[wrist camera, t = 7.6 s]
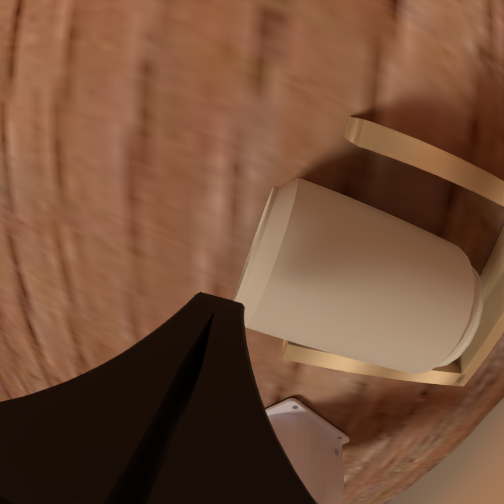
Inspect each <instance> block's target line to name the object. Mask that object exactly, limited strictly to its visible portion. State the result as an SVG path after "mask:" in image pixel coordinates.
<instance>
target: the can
mask: <svg viewBox="0 0 504 504" xmlns="http://www.w3.org/2000/svg"><path fill="white" fill-rule="evenodd" d="M233 301H236V302H240V303H242V304H243V305H244V307H245V310H244V325H245V327H247V328H250V329H253V330H256V331H259V332H262V333H265V334H268V335H271V336H275V337H278V338H281V339H284V340H288V341H291V342H294V343H297V344H301V345H304V346H308V347H311V348H314V349H318V350H321V351H325V352H328V353H332V354H336V355H339V356H343V357H347V358H350V359H354V360H358V361H362V362H366V363H370V364H373V365H377V366H381V367H386V368H390V369H394V370H398V371H402V372H407V373H411V374H419V373H425V372H429V371H430V370H432V369H433V368H436V367H441V366H446V365H448V364H450V363H451V362H453V361H454V360H456V359H457V358H459V357H460V355H461V354H462V353H463V352H464V351H465V349H466V348H467V347H468V346H469V344H470V343H471V341H472V339H473V337H474V335H475V333H476V331H477V329H478V327H479V323H480V319H481V315H482V310H483V287H482V283H481V280H480V276H479V274H478V273H477V272H476V270H475V269H474V268H473V267H472V266H471V264H470V261H469V258H468V256H467V255H466V254H465V253H464V252H463V251H462V249H461V248H460V247H458V246H456V245H454V244H452V243H450V242H448V241H446V240H444V239H442V238H440V237H438V236H436V235H434V234H432V233H430V232H428V231H425V230H423V229H421V228H419V227H417V226H415V225H413V224H410V223H408V222H406V221H404V220H402V219H399V218H397V217H395V216H393V215H390V214H388V213H386V212H383V211H381V210H379V209H376V208H374V207H372V206H369V205H367V204H365V203H362V202H360V201H357V200H355V199H352V198H350V197H348V196H345V195H343V194H340V193H338V192H335V191H332V190H330V189H327V188H325V187H322V186H320V185H317V184H314V183H312V182H309V181H306V180H304V179H301V178H296V179H294V180H292V181H290V182H288V183H286V184H284V185H282V186H280V187H273V188H272V191H271V193H270V196H269V198H268V201H267V204H266V206H265V209H264V212H263V215H262V217H261V220H260V223H259V226H258V229H257V231H256V234H255V237H254V240H253V243H252V246H251V249H250V251H249V254H248V257H247V260H246V263H245V266H244V269H243V272H242V275H241V278H240V281H239V284H238V287H237V290H236V293H235V297H234V300H233Z"/></svg>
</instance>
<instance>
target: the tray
mask: <svg viewBox="0 0 504 504" xmlns="http://www.w3.org/2000/svg"><path fill="white" fill-rule="evenodd" d="M343 137H344V138H345V139H347V140H349V141H350V142H352V143H353V144H355V145H356V146H359V147H362V148H365V149H368V150H371V151H374V152H377V153H379V154H382V155H385V156H388V157H391V158H393V159H396V160H399V161H402V162H404V163H407V164H409V165H412V166H415V167H417V168H420V169H422V170H425V171H427V172H430V173H432V174H434V175H437V176H439V177H442V178H444V179H446V180H449V181H451V182H453V183H455V184H458V185H460V186H462V187H464V188H466V189H469V190H471V191H473V192H475V193H477V194H479V195H481V196H483V197H485V198H488V199H490V200H492V201H494V202H496V203H498V204H500V205H501V206H503V207H504V181H503V180H501V179H499V178H497V177H496V176H494V175H492V174H490V173H488V172H486V171H484V170H482V169H480V168H479V167H477V166H475V165H473V164H471V163H469V162H467V161H464V160H462V159H460V158H458V157H456V156H454V155H452V154H450V153H448V152H445V151H443V150H441V149H439V148H436V147H434V146H432V145H430V144H427V143H425V142H423V141H420V140H418V139H415V138H413V137H410V136H408V135H405V134H403V133H400V132H398V131H395V130H392V129H390V128H387V127H384V126H382V125H379V124H376V123H373V122H370V121H367V120H364V119H360V118H354V117H349V118H348V122H347V125H346V129H345V132H344V136H343ZM480 280H481V283H482V287H483V310H482V315H481V319H480V323H479V327H478V329H477V331H476V333H475V335H474V337H473V339H472V341H471V343H470V344H469V346H468V347H467V348H466V349H465V351H464V352H463V353H462V354H461V355H460V357H459V358H457V359H456V360H454V361H453V362H451V363H450V364H448V365H446V366H441V367H436V368H433V369H432V370H430V371H429V372H425V373H419V374H411V373H407V372H402V371H398V370H394V369H390V368H386V367H381V366H377V365H373V364H370V363H366V362H362V361H358V360H354V359H350V358H347V357H343V356H339V355H336V354H332V353H328V352H325V351H321V350H318V349H314V348H311V347H308V346H304V345H301V344H297V343H294V342H291V341H288V340H284V343H283V356H282V359H286V360H290V361H295V362H300V363H305V364H309V365H314V366H320V367H325V368H330V369H335V370H341V371H347V372H352V373H358V374H364V375H371V376H377V377H384V378H391V379H398V380H406V381H414V382H423V383H432V384H442V385H452V386H464V385H465V384H466V383H467V382H468V380H469V379H470V378H471V377H472V375H473V374H474V373H475V371H476V370H477V369H478V367H479V366H480V365H481V363H482V362H483V361H484V359H485V358H486V357H487V355H488V354H489V352H490V351H491V350H492V348H493V347H494V345H495V344H496V342H497V341H498V339H499V338H500V336H501V335H502V333H503V332H504V225H503V227H502V230H501V232H500V234H499V237H498V239H497V241H496V244H495V246H494V248H493V250H492V252H491V254H490V257H489V259H488V261H487V263H486V265H485V267H484V269H483V271H482V273H481V275H480Z"/></svg>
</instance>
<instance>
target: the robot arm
mask: <svg viewBox="0 0 504 504" xmlns="http://www.w3.org/2000/svg"><path fill="white" fill-rule="evenodd" d="M244 310H245V307H244V305H243V304H242V303H240V302H236V301H232V300H228V299H225V298H221V297H217V296H213V295H210V294H206V293H202V292H200V293H198V294H196V295H195V296H194V297H193V298H192V299H191V300H190V301H189V302H188V303H187V304H186V305H185V306H184V307H182V308H181V309H180V310H179V311H178V312H177V313H176V314H174V315H173V316H172V317H171V318H170V319H168V320H167V321H166V322H165V323H163V324H162V325H161V326H160V327H158V328H157V329H156V330H155V331H153V332H152V333H151V334H149V335H148V336H146V337H145V338H144V339H142V340H141V341H139V342H138V343H136V344H135V345H134V346H132V347H131V348H129V349H127V350H126V351H124V352H123V353H121V354H119V355H118V356H116V357H114V358H113V359H111V360H109V361H107V362H106V363H104V364H102V365H100V366H98V367H96V368H94V369H92V370H90V371H88V372H86V373H84V374H82V375H80V376H78V377H75V378H73V379H71V380H69V381H66V382H64V383H61V384H58V385H56V386H53V387H50V388H47V389H44V390H42V391H39V392H36V393H33V394H30V395H26V396H23V397H19V398H15V399H11V400H6V401H2V402H0V504H340V502H341V500H342V497H343V493H344V476H343V450H342V445H343V444H346V443H348V442H349V441H350V438H349V437H348V436H347V435H345V434H344V433H342V432H341V431H340V430H338V429H337V428H335V427H334V426H332V425H331V424H330V423H328V422H327V421H325V420H324V419H323V418H321V417H320V416H318V415H317V414H316V413H314V412H313V411H312V410H310V409H309V408H308V407H306V406H305V405H304V404H302V403H301V402H299V401H298V400H297V399H295V398H289V399H287V400H285V401H283V402H280V403H278V404H276V405H274V406H271V407H269V408H267V409H265V408H264V405H263V402H262V400H261V397H260V394H259V391H258V388H257V384H256V381H255V377H254V374H253V370H252V366H251V362H250V357H249V352H248V347H247V342H246V335H245V325H244Z"/></svg>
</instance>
